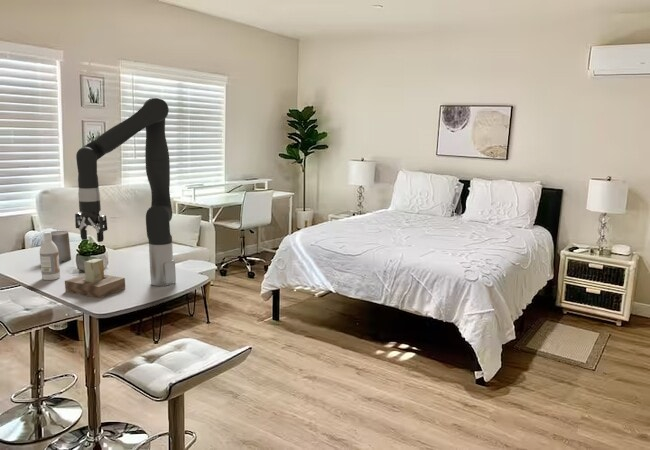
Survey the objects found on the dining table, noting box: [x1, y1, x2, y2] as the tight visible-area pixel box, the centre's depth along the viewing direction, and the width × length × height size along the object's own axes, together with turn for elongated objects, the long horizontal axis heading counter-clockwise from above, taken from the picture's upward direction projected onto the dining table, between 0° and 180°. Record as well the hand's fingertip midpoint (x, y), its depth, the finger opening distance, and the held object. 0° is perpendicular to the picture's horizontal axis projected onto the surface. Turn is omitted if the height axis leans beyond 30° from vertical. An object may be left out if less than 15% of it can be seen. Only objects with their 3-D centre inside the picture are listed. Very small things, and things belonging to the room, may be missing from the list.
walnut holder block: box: [64, 274, 126, 299], centre depth 202 cm, size 18×13×4 cm
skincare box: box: [83, 258, 105, 283], centre depth 201 cm, size 6×4×12 cm
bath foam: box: [39, 231, 61, 281], centre depth 216 cm, size 7×7×20 cm
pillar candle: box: [50, 230, 72, 263], centre depth 246 cm, size 10×10×15 cm
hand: (92, 240), depth 199 cm, fingers open, 8 cm apart
